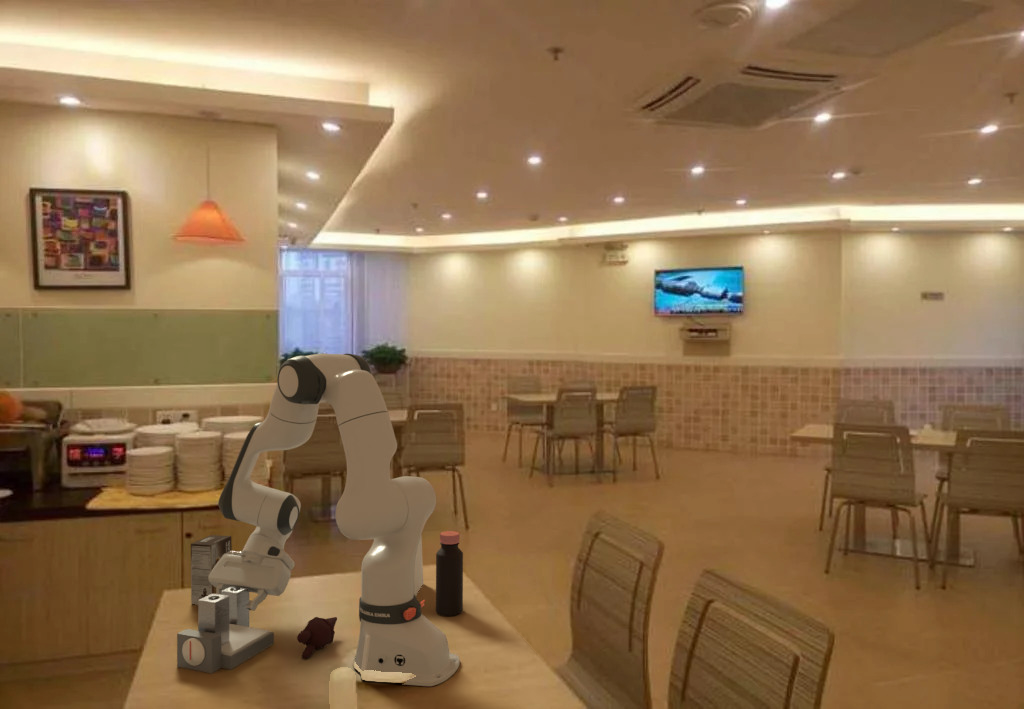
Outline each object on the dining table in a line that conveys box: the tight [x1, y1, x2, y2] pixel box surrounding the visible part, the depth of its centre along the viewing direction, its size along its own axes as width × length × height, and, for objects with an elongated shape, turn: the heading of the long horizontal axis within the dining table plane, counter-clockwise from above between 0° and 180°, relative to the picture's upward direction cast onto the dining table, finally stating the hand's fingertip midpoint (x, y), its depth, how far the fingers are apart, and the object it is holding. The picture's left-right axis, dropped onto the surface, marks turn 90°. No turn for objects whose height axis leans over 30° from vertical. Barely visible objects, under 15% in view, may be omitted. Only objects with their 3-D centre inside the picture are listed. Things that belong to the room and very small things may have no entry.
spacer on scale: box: [197, 594, 229, 646], centre depth 162 cm, size 4×4×10 cm
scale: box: [176, 624, 275, 674], centre depth 164 cm, size 14×17×7 cm
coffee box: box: [190, 534, 233, 606], centre depth 198 cm, size 9×6×16 cm
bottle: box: [435, 530, 464, 617], centre depth 190 cm, size 7×7×20 cm
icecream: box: [296, 616, 338, 660], centre depth 168 cm, size 7×7×15 cm
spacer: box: [221, 585, 250, 627], centre depth 177 cm, size 4×4×10 cm
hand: (233, 606), depth 176 cm, fingers open, 8 cm apart
